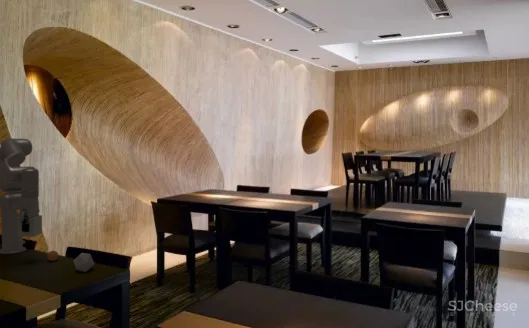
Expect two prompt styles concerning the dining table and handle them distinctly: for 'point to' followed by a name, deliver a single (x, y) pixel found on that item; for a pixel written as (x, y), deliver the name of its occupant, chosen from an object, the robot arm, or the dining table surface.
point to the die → (83, 262)
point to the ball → (52, 255)
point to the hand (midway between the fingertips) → (30, 229)
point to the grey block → (31, 226)
